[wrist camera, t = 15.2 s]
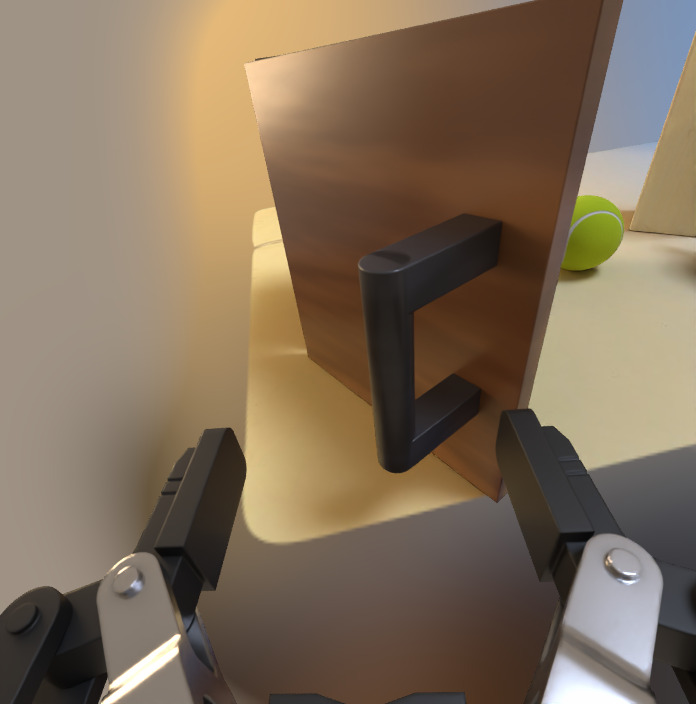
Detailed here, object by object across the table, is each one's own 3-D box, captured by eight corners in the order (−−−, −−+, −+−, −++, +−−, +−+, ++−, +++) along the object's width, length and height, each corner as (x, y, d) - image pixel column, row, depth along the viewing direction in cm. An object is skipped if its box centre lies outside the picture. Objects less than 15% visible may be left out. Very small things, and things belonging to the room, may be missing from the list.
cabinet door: (426, 574, 18) (439, -12, 6) (251, 387, 30) (141, 75, 18) (508, 491, 20) (627, -16, 9) (318, 351, 32) (260, 61, 21)
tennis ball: (524, 257, 43) (535, 191, 38) (589, 250, 42) (608, 183, 38) (551, 286, 37) (567, 212, 33) (626, 278, 37) (652, 203, 32)
